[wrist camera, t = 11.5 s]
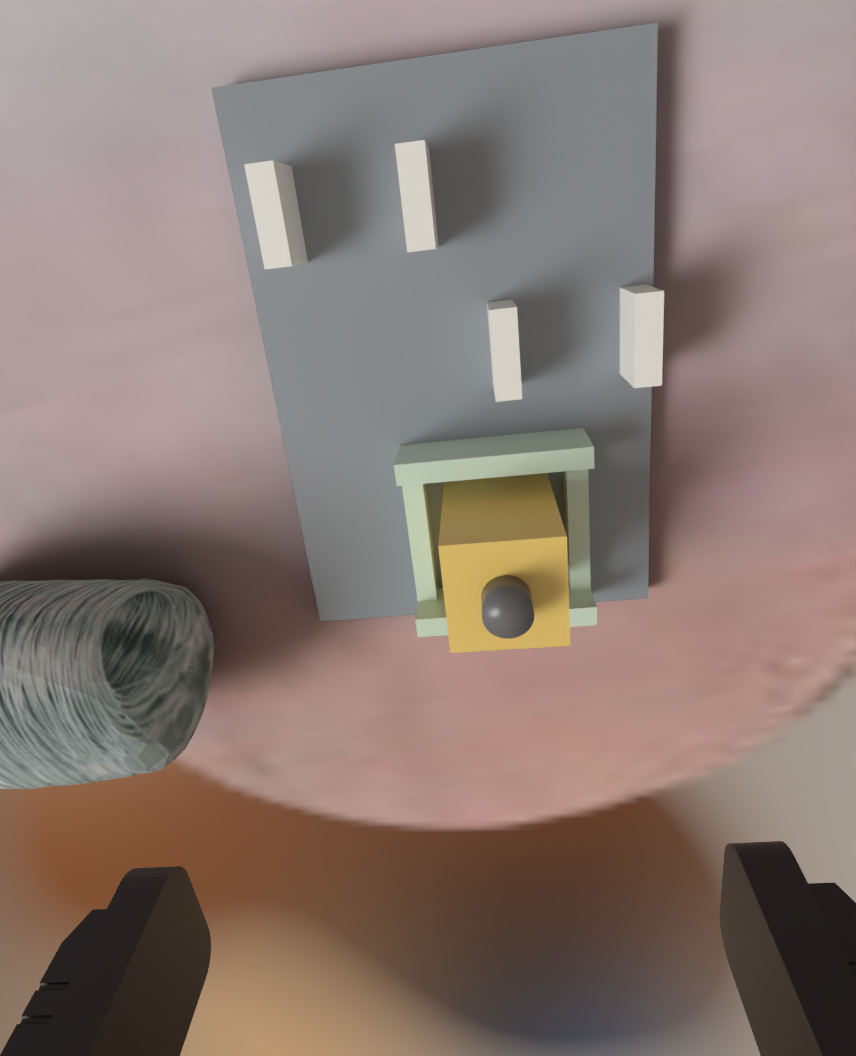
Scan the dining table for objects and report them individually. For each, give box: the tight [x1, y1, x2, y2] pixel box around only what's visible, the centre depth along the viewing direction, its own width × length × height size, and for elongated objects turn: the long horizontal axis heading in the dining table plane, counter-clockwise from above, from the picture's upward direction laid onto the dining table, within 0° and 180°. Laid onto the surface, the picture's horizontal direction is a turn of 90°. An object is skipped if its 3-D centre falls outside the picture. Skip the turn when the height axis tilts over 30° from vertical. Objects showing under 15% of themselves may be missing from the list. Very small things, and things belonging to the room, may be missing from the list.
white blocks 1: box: [244, 140, 439, 269], centre depth 22 cm, size 3×6×2 cm, turn 97°
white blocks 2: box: [487, 284, 664, 402], centre depth 24 cm, size 3×6×2 cm, turn 97°
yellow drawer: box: [438, 473, 570, 653], centre depth 24 cm, size 4×4×7 cm
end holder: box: [394, 428, 597, 637], centre depth 27 cm, size 7×7×2 cm
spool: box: [0, 578, 214, 789], centre depth 28 cm, size 14×10×10 cm
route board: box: [212, 22, 658, 621], centre depth 26 cm, size 20×14×1 cm
